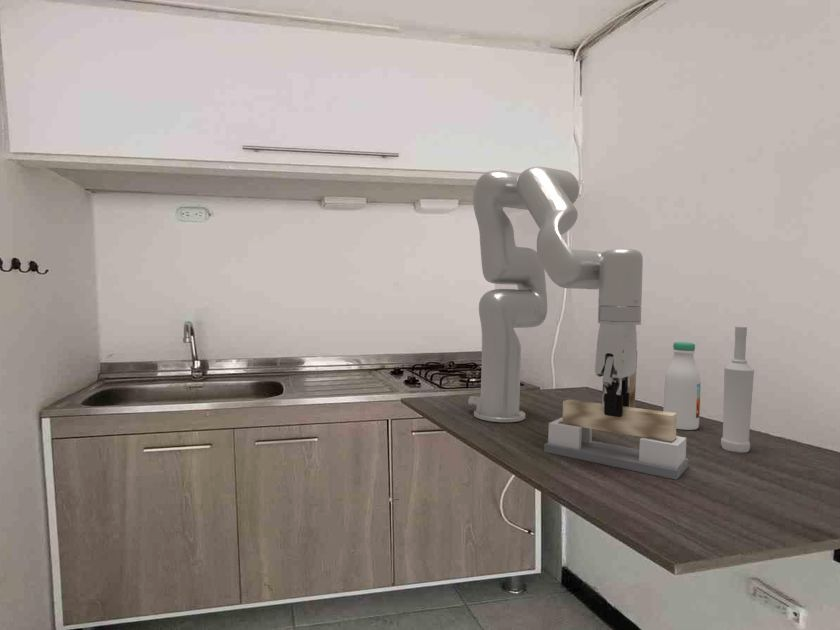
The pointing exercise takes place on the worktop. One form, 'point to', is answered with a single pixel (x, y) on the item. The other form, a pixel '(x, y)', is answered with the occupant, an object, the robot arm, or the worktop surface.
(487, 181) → the robot arm
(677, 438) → the grey holder stand
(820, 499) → the worktop surface
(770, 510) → the worktop surface
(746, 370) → the bottle
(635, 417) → the slat
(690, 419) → the milk bottle
